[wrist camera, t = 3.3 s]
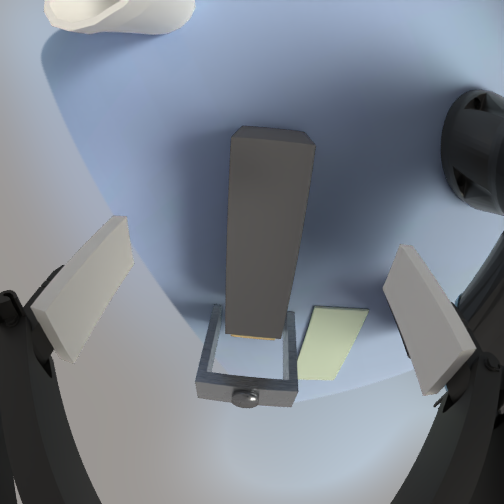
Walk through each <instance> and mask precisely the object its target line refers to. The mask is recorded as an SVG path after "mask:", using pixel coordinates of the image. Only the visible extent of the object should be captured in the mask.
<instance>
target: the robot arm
mask: <svg viewBox="0 0 504 504" xmlns="http://www.w3.org/2000/svg"><path fill="white" fill-rule="evenodd" d="M441 159H442V165H443V170H444V173H445V176H446V179H447V181H448V183H449V185H450V187H451V189H452V190H453V192H454V193H455V194H456V195H457V196H458V197H459V198H460V199H461V200H463V201H464V202H465V203H467V204H468V205H469V206H471V207H473V208H475V209H478V210H481V211H486V212H490V213H494V214H498V215H502V216H504V97H502V96H500V95H499V94H496V93H494V92H490V91H485V90H471V91H468V92H466V93H464V94H463V95H461V96H460V97H459V98H458V99H457V100H456V101H455V102H454V103H453V105H452V106H451V108H450V110H449V112H448V114H447V116H446V119H445V122H444V126H443V130H442V136H441ZM133 265H134V260H133V255H132V249H131V243H130V236H129V230H128V223H127V216H112V217H111V218H110V219H109V220H108V221H107V222H106V223H105V224H104V225H103V226H102V227H101V228H100V229H99V230H98V231H97V232H96V233H95V234H94V235H93V236H92V237H91V238H90V239H89V240H88V241H87V242H86V243H85V244H84V245H83V246H82V247H81V248H80V249H79V250H78V252H77V253H76V254H75V255H74V256H73V257H72V258H71V259H70V260H69V261H68V262H67V264H66V265H62V266H61V267H59V268H58V269H56V270H55V271H53V272H52V273H51V275H50V276H49V277H48V278H47V281H45V282H44V283H43V284H42V285H41V287H39V289H38V290H37V291H36V292H35V293H34V295H33V296H32V297H31V298H30V300H29V301H28V302H27V303H26V305H25V306H24V307H22V305H21V303H20V301H19V299H18V297H17V295H16V293H15V292H13V291H11V290H7V291H3V292H1V293H0V504H17V499H16V493H15V486H14V479H15V483H16V486H17V489H18V492H19V495H20V498H21V501H22V503H23V504H102V503H101V501H100V499H99V498H98V496H97V494H96V491H95V489H94V487H93V486H92V483H91V481H90V479H89V477H88V474H87V472H86V470H85V468H84V465H83V463H82V460H81V458H80V455H79V452H78V450H77V447H76V444H75V441H74V439H73V436H72V433H71V430H70V427H69V423H68V420H67V417H66V414H65V410H64V406H63V403H62V399H61V395H60V391H59V386H58V382H57V377H56V372H55V367H54V362H53V359H52V357H51V353H52V352H53V350H55V352H56V353H57V355H58V357H59V358H60V359H62V360H64V361H67V362H70V363H72V364H75V362H76V360H77V358H78V357H79V355H80V353H81V351H82V349H83V347H84V345H85V344H86V342H87V340H88V338H89V336H90V335H91V333H92V331H93V329H94V328H95V326H96V324H97V322H98V321H99V319H100V317H101V316H102V314H103V312H104V310H105V309H106V307H107V306H108V304H109V302H110V301H111V299H112V297H113V296H114V294H115V293H116V291H117V290H118V288H119V287H120V285H121V283H122V282H123V280H124V279H125V277H126V276H127V274H128V273H129V271H130V270H131V268H132V267H133ZM382 289H383V291H384V293H385V295H386V298H387V300H388V302H389V305H390V307H391V309H392V312H393V314H394V316H395V319H396V321H397V324H398V326H399V329H400V331H401V334H402V336H403V339H404V342H405V344H406V347H407V350H408V352H409V355H410V358H411V361H412V364H413V366H414V369H415V372H416V375H417V378H418V381H419V384H420V387H421V391H422V394H423V396H426V395H432V394H437V393H438V392H439V391H440V390H441V389H442V388H443V387H445V389H446V391H447V392H446V393H445V394H444V395H443V396H442V397H441V398H440V399H439V400H438V401H437V402H436V403H435V404H434V407H436V406H437V405H438V404H439V403H441V404H440V407H439V408H438V409H439V410H438V412H437V415H436V417H435V420H434V422H433V425H432V427H431V429H430V432H429V434H428V436H427V438H426V441H425V443H424V445H423V447H422V449H421V452H420V453H419V455H418V457H417V459H416V461H415V463H414V465H413V467H412V469H411V471H410V472H409V474H408V476H407V478H406V479H405V481H404V483H403V484H402V486H401V488H400V489H399V491H398V493H397V494H396V496H395V497H394V499H393V500H392V502H391V504H504V231H503V233H502V234H501V236H500V238H499V239H498V241H497V243H496V244H495V246H494V248H493V249H492V251H491V253H490V254H489V256H488V257H487V259H486V261H485V262H484V264H483V265H482V267H481V268H480V270H479V271H478V273H477V274H476V275H475V277H474V278H473V280H472V281H471V283H470V284H469V285H468V287H467V288H466V289H465V291H464V292H463V293H462V294H460V295H459V296H458V298H457V299H456V301H455V305H454V304H453V303H452V302H450V300H449V299H448V297H447V296H446V294H445V292H444V291H443V289H442V288H441V286H440V285H439V283H438V282H437V280H436V279H435V277H434V276H433V274H432V273H431V271H430V270H429V268H428V267H427V265H426V264H425V262H424V261H423V260H422V258H421V257H420V255H419V254H418V253H417V251H416V250H415V249H414V247H413V246H411V245H404V244H400V245H399V248H398V251H397V253H396V256H395V259H394V261H393V264H392V266H391V269H390V271H389V274H388V276H387V279H386V281H385V284H384V286H383V288H382ZM13 476H14V477H13Z"/></svg>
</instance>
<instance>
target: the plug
mask: <svg viewBox="0 0 504 504" xmlns="http://www.w3.org/2000/svg"><path fill="white" fill-rule="evenodd" d="M315 148H316V145H315V144H314V143H313V142H312V140H311V139H310V138H309V137H308V136H307V135H306V134H305V132H301V131H294V130H285V129H276V128H265V127H253V126H242V127H241V128H240V129H239V130H238V131H237V132H236V133H235V134H234V135H233V136H232V137H231V149H230V169H229V193H228V220H227V255H226V310H225V334H231V336H234V337H243V338H253V339H264V340H275V339H281V336H282V332H283V327H284V322H285V318H286V313H287V309H288V304H289V299H290V294H291V289H292V284H293V279H294V274H295V269H296V264H297V258H298V253H299V248H300V242H301V237H302V231H303V225H304V219H305V213H306V207H307V201H308V195H309V189H310V182H311V176H312V169H313V162H314V155H315Z"/></svg>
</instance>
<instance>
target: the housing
mask: <svg viewBox="0 0 504 504" xmlns="http://www.w3.org/2000/svg"><path fill="white" fill-rule="evenodd" d="M220 328H221V305H217V304H214V306H213V310H212V314H211V318H210V322H209V326H208V330H207V334H206V338H205V342H204V346H203V350H202V355H201V359H200V363H199V367H198V371H197V376H196V380H195V384H196V389H197V395H198V398H203V399H209V400H216V401H223V402H231V403H233V404H234V405H236V406H238V407H241V408H253V407H256V406H257V405H262V406H278V407H292V404H293V402H294V400H295V398H296V396H297V393H298V371H297V348H296V330H295V313H294V312H287V315H286V319H285V324H284V328H283V380H282V379H267V378H256V377H245V376H236V375H227V374H220V373H213V372H212V367H213V362H214V357H215V352H216V347H217V343H218V338H219V333H220Z"/></svg>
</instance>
